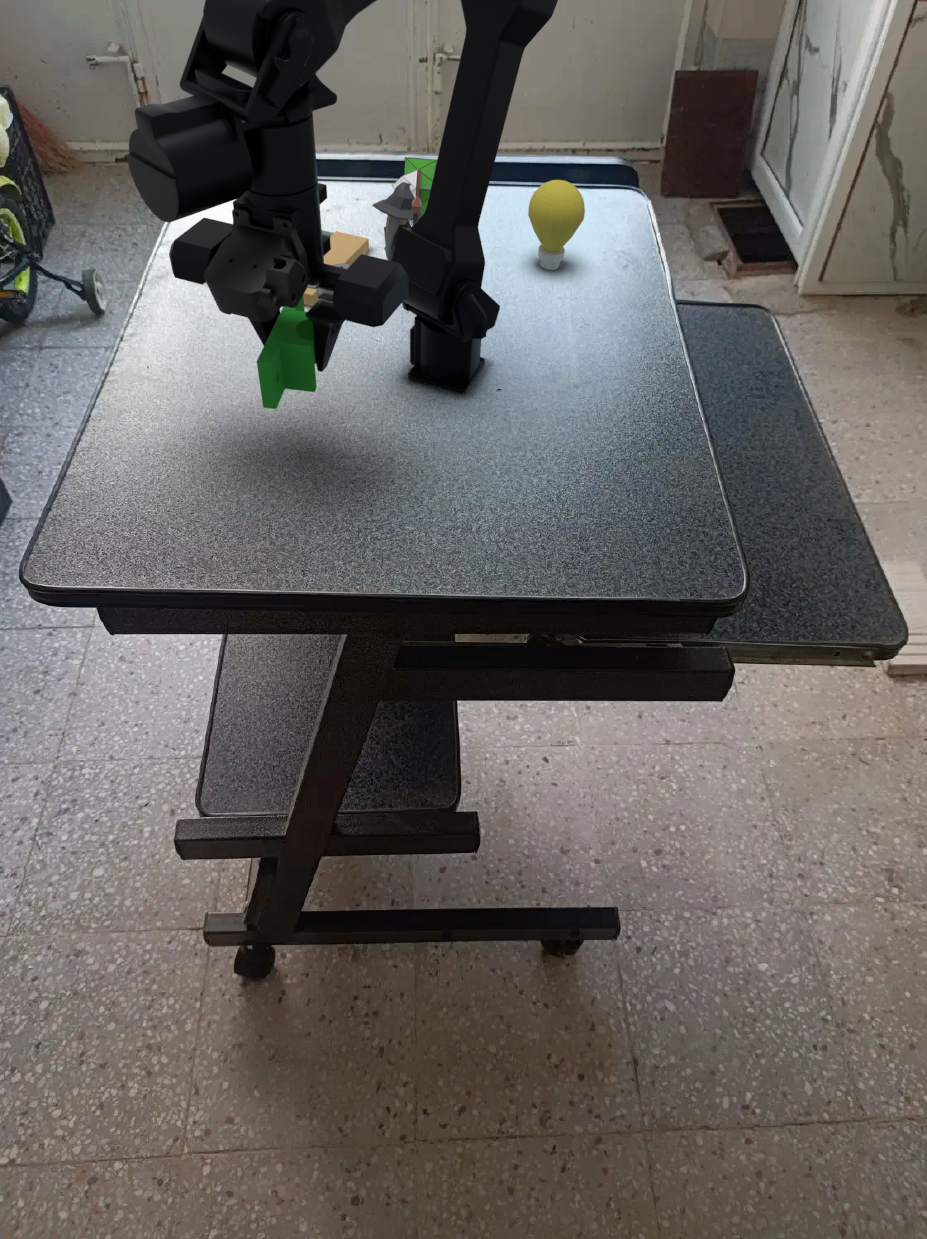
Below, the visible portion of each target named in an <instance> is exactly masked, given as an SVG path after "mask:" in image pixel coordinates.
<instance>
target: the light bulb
mask: <svg viewBox="0 0 927 1239" xmlns="http://www.w3.org/2000/svg"><path fill="white" fill-rule="evenodd" d="M585 214H586V207H585V199H584V197H583V195H582V194H581V192H580V190H579V189H578V187H576V186H575V185H574V184H573V183H571V182H569V181H567V180H564V179H563V180H562V179H552V180H549V181H546V182H544V183H542V184H541V185H540V186H539V187H538V188H537V189H536V190H534V193H533V194H532V196H531V197H530V201H529V204H528V214H527V216H528V218H529V220H530V224H531V227H532V230H533V232H534V234H535V236H536V238H537V239H538V241H539V243H540V245H539V246H538V250H537V251H538V253H537V257H538V258H539V259H540V267H541V268H543V269H545V270H550V271H553V270H557V269H559V267H560V264H561V261H563V260H564V259H565V254H566V252H565V251H566V249H565V248H564V246H565V245H566V244H567V243H568V242H569V241H570V240H571V239H572V238H573V236H574V235H575V233H576V232H577V230H578V229H579V227H580V226H581V224H582V223H583V221H584V219H585Z"/></svg>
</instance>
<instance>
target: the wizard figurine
mask: <svg viewBox="0 0 927 1239" xmlns="http://www.w3.org/2000/svg"><path fill="white" fill-rule="evenodd" d="M410 185H411V184H409V183H406V182H402V183H401V184H399V185H398V186H397V187H396V189H394V190H393V191H392V193H391V194H390V195H389V196H388V197H387V198H386V199H382V200H378V201H377V202H374V203H373V204H372V207H374V208H375V209H376V210H378V211H379V212H381V213H383V214H385V215H387V216H386V222H385V226H384V227H383V235H384V247H383V250H384V251H385V256H386V257H385V258H386V260H389V261H391V260H392V257H393V254H394V250H395V242H396V234H397V232H398V230H399V229H400V228H401V227H405V228H408V229H410V228H411V227H412V225H413V224H414V223H415V222H416V221H417V220H418V219H419V218H420V217H421V216H422V213H421V212H420V209H421V204H422V202H421V201H420V199H419V198H418V196H417V197H416V198H415V197H414V196H413V194H412V192H411V190H410ZM410 221H412V225H411V223H410Z"/></svg>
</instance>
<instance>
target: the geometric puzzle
mask: <svg viewBox="0 0 927 1239" xmlns="http://www.w3.org/2000/svg"><path fill="white" fill-rule="evenodd" d="M436 163H437V159H434V158H433V159H432V158H420V157H410V156H409V157H408V156H405V155H404V159H403V161H402V164H401V165H400V167H399V170H398V171H399V175H398V178H397V180H396V179H394V180H393V183H392V184H391V187H392V190H393V191H394V190H395V189H396V187H397V186H398V185H399V184H401V183H402V182H406V183H409V184H411V185H410V190H411V192H412V194H413V196H414V197H415V198H416V197H417V196H418V198H419V199H420V201H421V202H422V204H421V209H420V212H421V213H422V215H423V213H424V212H425V210H426V207H427V203H428V198H429V194H430V190H431V185H432V181H433V176H434V172H435V168H436ZM403 166H404V175H401V174H402V171H403ZM400 169H401V170H400ZM395 180H396V181H395Z"/></svg>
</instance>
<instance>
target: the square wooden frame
mask: <svg viewBox="0 0 927 1239" xmlns="http://www.w3.org/2000/svg"><path fill="white" fill-rule="evenodd" d="M322 235H323V236H327V237H330V244H331V250H330V251H329V252H328V253H327V254H326V255H325V256H324V263H325V264H329V265H335V264H338V263H344V264H349V265H351V264H352V263H353V262H354V261H355V260H356V259H357V258H358V257H359V256H360V255H361V254H363V255H367V253H368V252H369V251H370V239H369V238H367V237H363V236H358V235H356V234H355V235H354V234H350V233H344V232H342V231H338V230H335V231H334V232H331V231H327V230H323V229H322ZM303 299H304V306H309V307H312V306H313V305H314V304H315V303H316V302H317V301H318V295H317V289H311V288H307V289H306V291H305V293H304V294H303Z"/></svg>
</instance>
